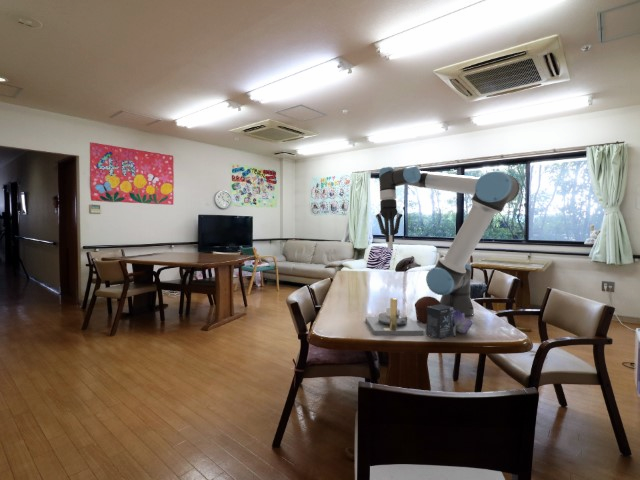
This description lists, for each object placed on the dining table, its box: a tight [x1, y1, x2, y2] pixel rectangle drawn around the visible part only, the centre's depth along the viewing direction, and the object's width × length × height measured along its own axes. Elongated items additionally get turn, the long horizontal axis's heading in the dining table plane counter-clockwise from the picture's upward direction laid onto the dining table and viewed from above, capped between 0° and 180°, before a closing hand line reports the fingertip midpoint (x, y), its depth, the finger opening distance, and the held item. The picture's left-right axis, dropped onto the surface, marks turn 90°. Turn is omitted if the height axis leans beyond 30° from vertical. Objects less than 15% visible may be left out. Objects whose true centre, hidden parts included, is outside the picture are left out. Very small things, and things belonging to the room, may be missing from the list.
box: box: [425, 304, 453, 340], centre depth 118 cm, size 8×6×11 cm
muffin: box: [414, 295, 441, 325], centre depth 135 cm, size 12×11×10 cm
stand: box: [365, 316, 424, 336], centre depth 127 cm, size 18×17×2 cm
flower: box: [452, 309, 474, 337], centre depth 120 cm, size 9×9×10 cm
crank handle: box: [377, 297, 408, 330], centre depth 125 cm, size 16×11×11 cm
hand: (390, 249), depth 155 cm, fingers closed
